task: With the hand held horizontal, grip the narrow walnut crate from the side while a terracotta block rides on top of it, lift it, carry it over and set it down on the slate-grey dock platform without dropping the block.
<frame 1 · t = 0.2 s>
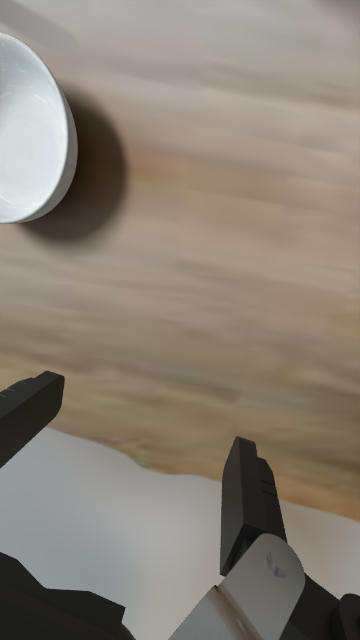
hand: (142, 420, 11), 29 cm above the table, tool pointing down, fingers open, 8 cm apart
serving bowl: (31, 156, 38), on the table
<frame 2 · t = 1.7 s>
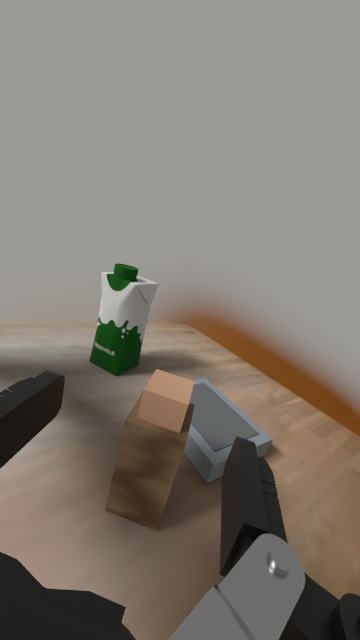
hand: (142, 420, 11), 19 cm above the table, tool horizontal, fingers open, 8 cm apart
dock: (203, 426, 40), on the table
crate: (140, 494, 27), on the table, touching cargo
milk carton: (114, 363, 52), on the table
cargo: (163, 411, 24), point 11 cm above the table, touching crate
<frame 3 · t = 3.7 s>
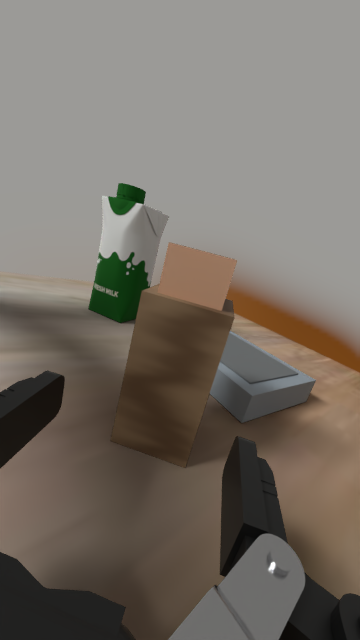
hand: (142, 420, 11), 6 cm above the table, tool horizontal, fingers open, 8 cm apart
dock: (226, 371, 33), on the table
crate: (157, 428, 20), on the table, touching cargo
milk carton: (117, 314, 44), on the table
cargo: (193, 296, 17), point 11 cm above the table, touching crate
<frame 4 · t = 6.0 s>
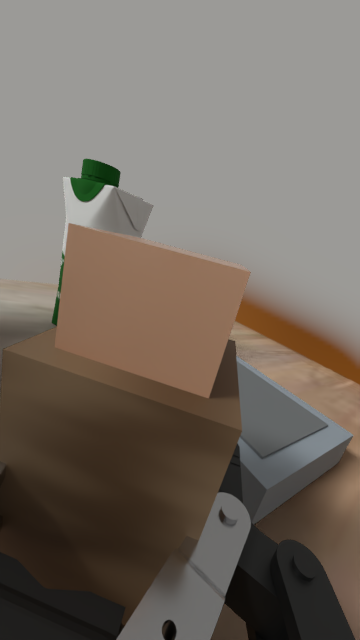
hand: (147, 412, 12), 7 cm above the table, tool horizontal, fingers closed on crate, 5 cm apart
dock: (226, 415, 24), on the table
crate: (99, 567, 11), on the table, touching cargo, gripper
milk carton: (90, 328, 36), on the table
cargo: (152, 344, 8), point 11 cm above the table, touching crate
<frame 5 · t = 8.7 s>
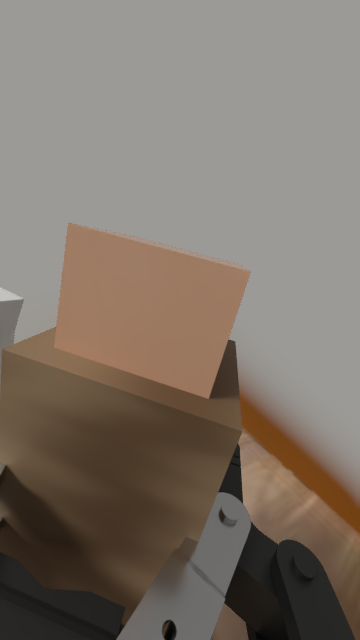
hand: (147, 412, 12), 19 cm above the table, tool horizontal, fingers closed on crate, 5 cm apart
crate: (99, 567, 11), point 12 cm above the table, touching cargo, gripper
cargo: (152, 344, 8), point 23 cm above the table, touching crate
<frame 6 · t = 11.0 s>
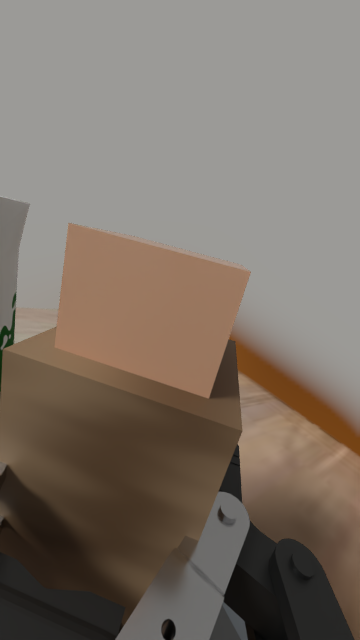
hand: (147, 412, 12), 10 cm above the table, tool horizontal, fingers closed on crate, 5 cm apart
dock: (89, 613, 12), on the table
crate: (99, 567, 11), point 4 cm above the table, touching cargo, gripper
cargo: (152, 344, 8), point 15 cm above the table, touching crate
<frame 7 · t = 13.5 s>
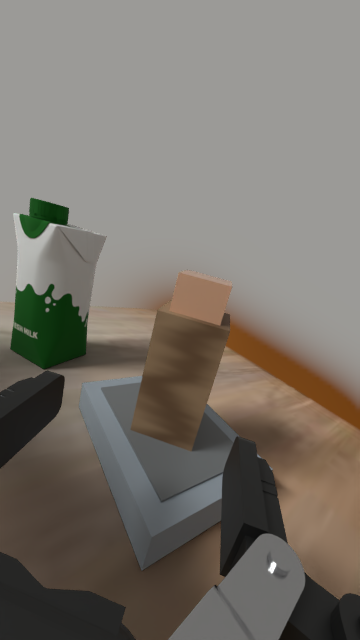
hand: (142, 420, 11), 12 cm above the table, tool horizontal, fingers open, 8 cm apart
dock: (161, 446, 25), on the table
crate: (167, 420, 24), point 3 cm above the table, touching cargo, dock
milk carton: (50, 353, 37), on the table
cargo: (197, 312, 21), point 14 cm above the table, touching crate
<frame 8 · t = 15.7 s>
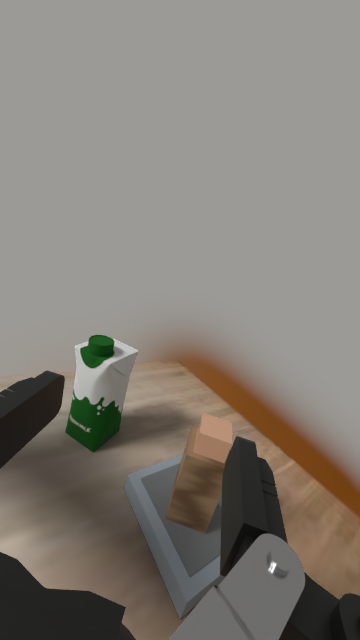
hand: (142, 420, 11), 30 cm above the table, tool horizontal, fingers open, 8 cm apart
dock: (183, 521, 37), on the table
crate: (188, 506, 36), point 3 cm above the table, touching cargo, dock
milk carton: (93, 432, 48), on the table
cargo: (209, 445, 32), point 14 cm above the table, touching crate
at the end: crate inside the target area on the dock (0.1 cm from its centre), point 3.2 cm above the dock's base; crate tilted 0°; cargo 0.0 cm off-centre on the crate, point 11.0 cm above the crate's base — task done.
